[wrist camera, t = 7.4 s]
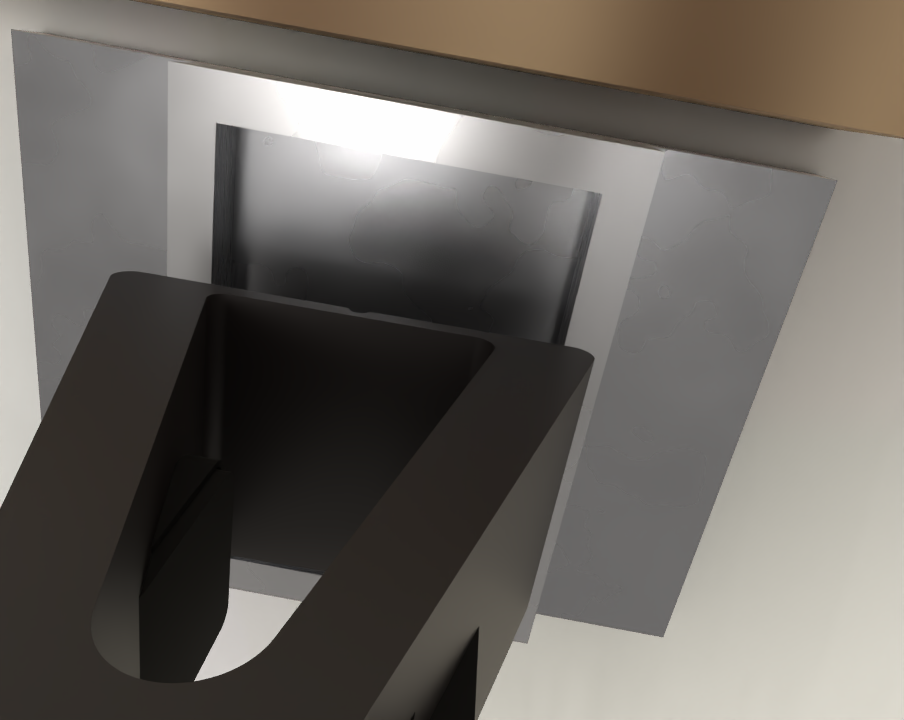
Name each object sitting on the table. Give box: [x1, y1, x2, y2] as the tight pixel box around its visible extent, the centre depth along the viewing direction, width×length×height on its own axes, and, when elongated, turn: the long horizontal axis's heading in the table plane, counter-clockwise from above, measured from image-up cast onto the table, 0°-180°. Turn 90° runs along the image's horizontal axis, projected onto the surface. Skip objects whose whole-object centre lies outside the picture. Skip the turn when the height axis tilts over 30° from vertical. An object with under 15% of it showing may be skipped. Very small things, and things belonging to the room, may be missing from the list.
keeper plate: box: [11, 29, 837, 643], centre depth 17 cm, size 18×13×2 cm
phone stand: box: [0, 271, 595, 720], centre depth 8 cm, size 9×6×12 cm, turn 80°
